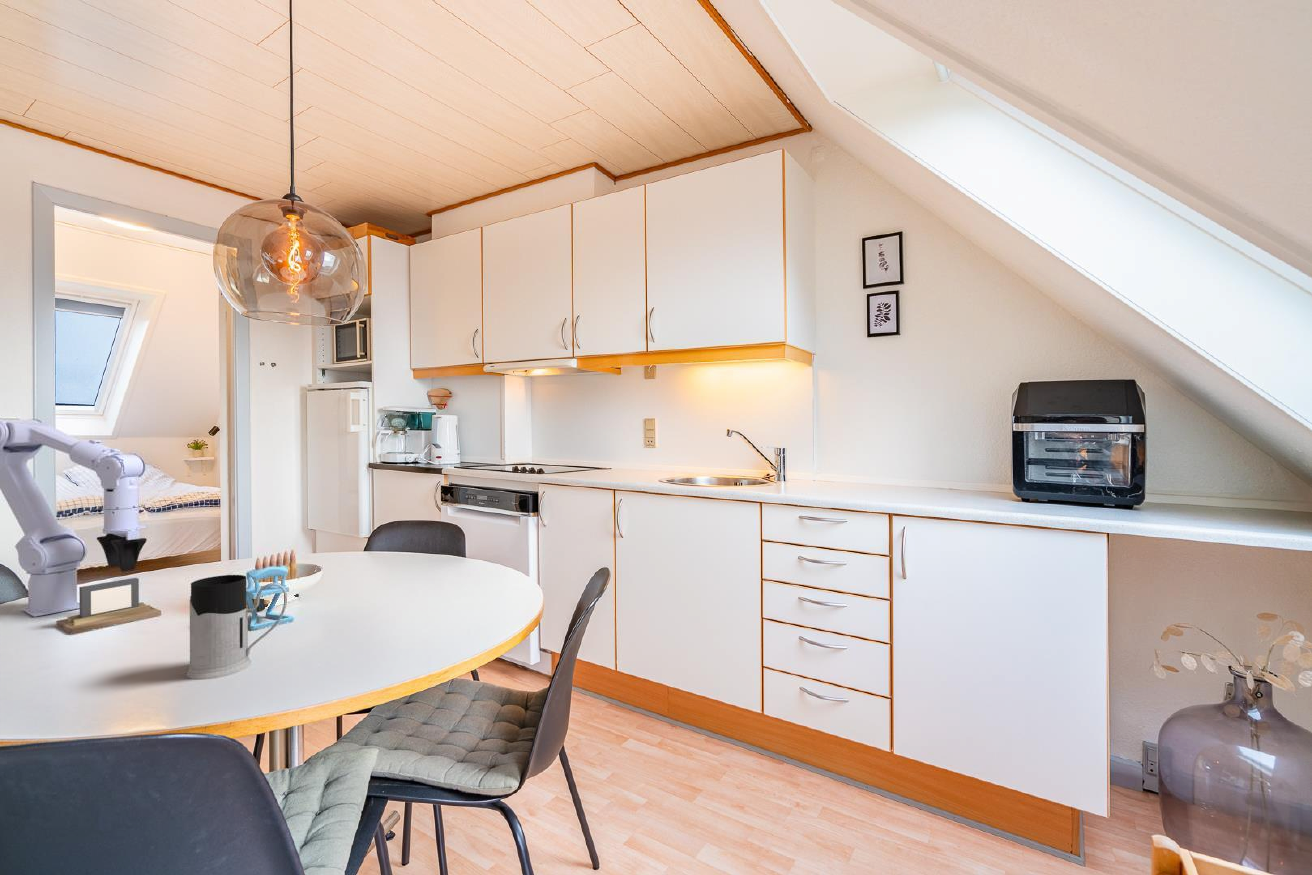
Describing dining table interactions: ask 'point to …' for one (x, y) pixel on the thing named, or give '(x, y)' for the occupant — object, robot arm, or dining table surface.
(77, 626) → the board
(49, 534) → the robot arm
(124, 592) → the grey upright slab
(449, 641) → the dining table surface
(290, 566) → the ammunition clip
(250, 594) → the chair
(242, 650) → the glass holder
